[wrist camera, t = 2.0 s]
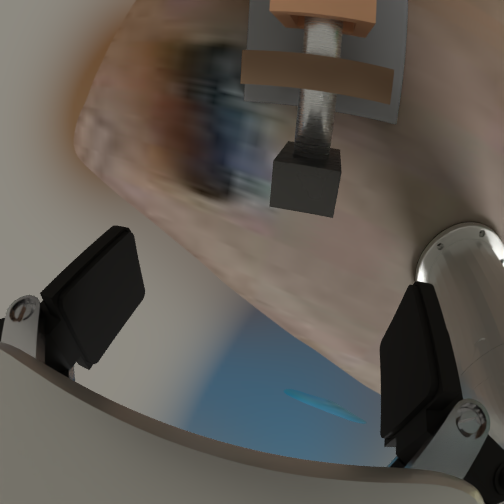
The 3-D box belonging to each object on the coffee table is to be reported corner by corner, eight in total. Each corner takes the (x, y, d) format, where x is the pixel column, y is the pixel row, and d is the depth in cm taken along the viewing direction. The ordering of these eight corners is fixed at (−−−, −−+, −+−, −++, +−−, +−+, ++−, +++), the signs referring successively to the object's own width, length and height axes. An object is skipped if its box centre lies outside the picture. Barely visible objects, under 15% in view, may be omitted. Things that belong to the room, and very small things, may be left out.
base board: (393, 122, 24) (396, 124, 22) (248, 99, 26) (243, 100, 25) (404, -32, 14) (407, -37, 13) (257, -49, 17) (253, -54, 15)
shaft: (334, 185, 23) (332, 217, 18) (284, 177, 23) (269, 206, 19) (355, -52, 11) (358, -87, 6) (301, -58, 12) (289, -93, 7)
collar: (365, 38, 16) (375, 23, 11) (285, 27, 17) (269, 10, 13) (366, 11, 15) (376, -11, 10) (287, 1, 16) (271, -23, 11)
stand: (367, 96, 22) (390, 104, 13) (277, 82, 23) (240, 83, 14) (375, -21, 15) (395, -74, 6) (284, -31, 17) (252, -87, 8)
